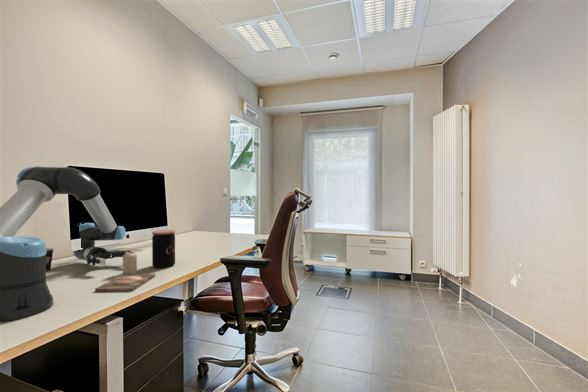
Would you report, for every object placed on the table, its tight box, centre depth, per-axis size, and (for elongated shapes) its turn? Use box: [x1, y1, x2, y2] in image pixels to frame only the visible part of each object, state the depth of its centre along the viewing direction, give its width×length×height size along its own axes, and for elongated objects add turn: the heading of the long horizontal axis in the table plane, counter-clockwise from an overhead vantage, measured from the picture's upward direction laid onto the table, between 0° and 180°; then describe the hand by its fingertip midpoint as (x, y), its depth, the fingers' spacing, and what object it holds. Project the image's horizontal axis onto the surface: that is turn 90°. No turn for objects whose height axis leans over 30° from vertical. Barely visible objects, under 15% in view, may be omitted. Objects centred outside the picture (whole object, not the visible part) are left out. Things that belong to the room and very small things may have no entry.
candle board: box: [94, 273, 156, 293], centre depth 111 cm, size 18×14×2 cm
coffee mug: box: [46, 247, 54, 272], centre depth 129 cm, size 12×9×10 cm
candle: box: [122, 251, 138, 275], centre depth 125 cm, size 6×6×10 cm
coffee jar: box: [151, 229, 176, 269], centre depth 138 cm, size 11×11×18 cm
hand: (120, 259), depth 129 cm, fingers open, 13 cm apart
